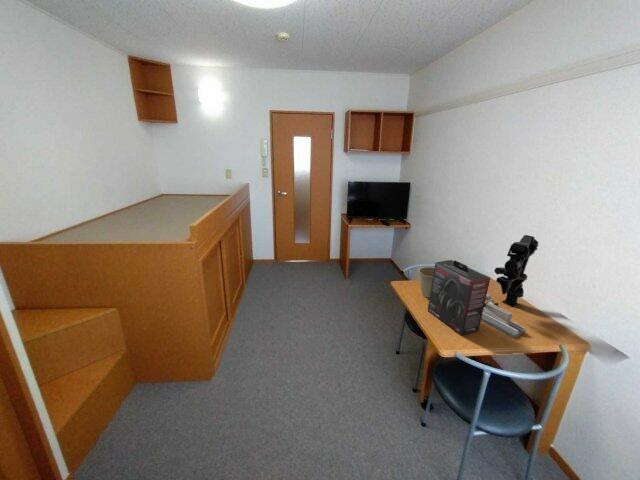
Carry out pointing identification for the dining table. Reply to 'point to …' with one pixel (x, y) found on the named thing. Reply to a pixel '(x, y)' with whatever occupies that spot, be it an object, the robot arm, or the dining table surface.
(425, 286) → the plant pot
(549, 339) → the dining table surface
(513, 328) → the rail
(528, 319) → the dining table surface
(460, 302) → the headset box
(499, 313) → the door panel
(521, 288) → the robot arm
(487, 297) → the clip-on lamp
